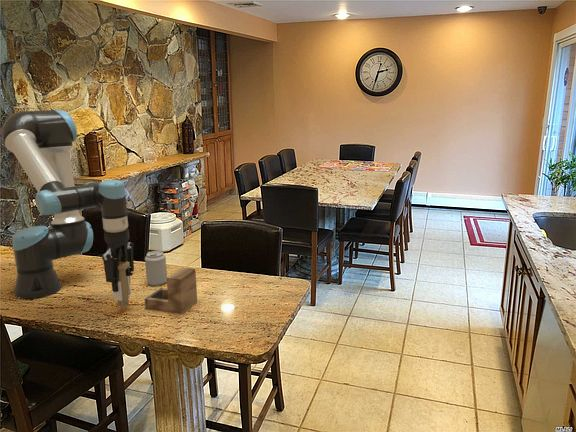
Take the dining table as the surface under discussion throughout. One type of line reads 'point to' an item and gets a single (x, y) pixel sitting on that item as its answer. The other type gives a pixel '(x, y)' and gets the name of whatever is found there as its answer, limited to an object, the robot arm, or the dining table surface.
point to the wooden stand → (175, 293)
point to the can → (156, 268)
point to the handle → (123, 283)
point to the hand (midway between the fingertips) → (122, 296)
